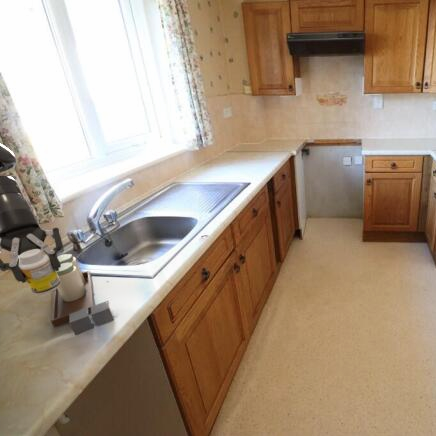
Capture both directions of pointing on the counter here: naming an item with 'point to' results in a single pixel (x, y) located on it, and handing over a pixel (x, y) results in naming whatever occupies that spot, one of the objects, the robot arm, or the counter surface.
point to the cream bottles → (70, 278)
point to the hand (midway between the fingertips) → (41, 275)
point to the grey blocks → (84, 319)
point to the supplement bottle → (39, 271)
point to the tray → (72, 303)
